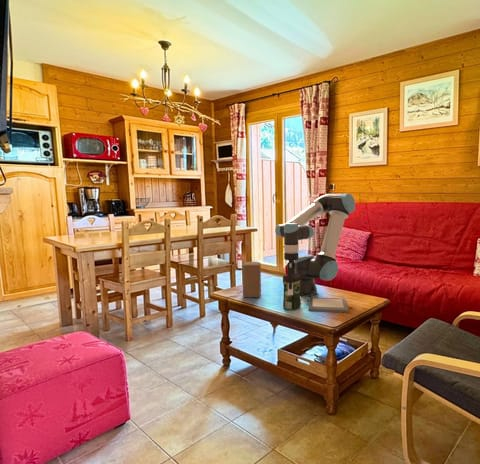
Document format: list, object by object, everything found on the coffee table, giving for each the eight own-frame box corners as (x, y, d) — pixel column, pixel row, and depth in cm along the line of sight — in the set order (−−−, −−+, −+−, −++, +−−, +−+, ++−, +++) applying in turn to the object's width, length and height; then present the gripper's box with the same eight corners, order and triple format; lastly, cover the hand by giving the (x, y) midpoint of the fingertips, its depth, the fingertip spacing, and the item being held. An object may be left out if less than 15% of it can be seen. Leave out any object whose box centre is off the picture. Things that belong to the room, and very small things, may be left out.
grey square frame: (309, 299, 202) (309, 296, 202) (345, 300, 198) (345, 297, 198) (308, 310, 183) (308, 307, 183) (348, 312, 179) (348, 309, 178)
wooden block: (259, 298, 206) (258, 265, 204) (242, 297, 208) (241, 264, 206) (261, 293, 216) (260, 261, 214) (245, 293, 218) (244, 261, 216)
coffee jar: (291, 303, 195) (290, 271, 193) (303, 306, 189) (302, 273, 187) (280, 308, 188) (280, 274, 186) (292, 311, 182) (292, 276, 180)
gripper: (285, 248, 198) (286, 285, 200) (282, 256, 174) (282, 297, 176) (299, 248, 196) (299, 285, 199) (297, 256, 172) (297, 298, 174)
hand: (291, 291), depth 187 cm, fingers open, 13 cm apart
